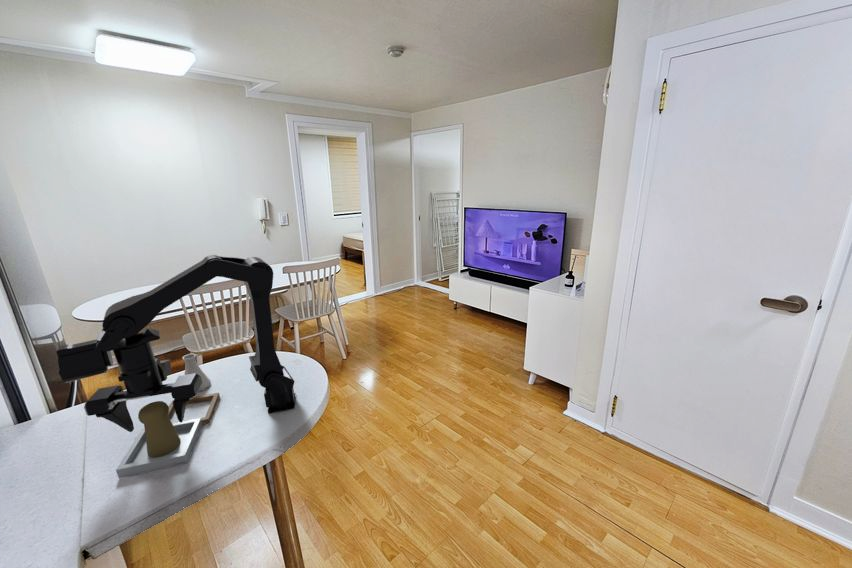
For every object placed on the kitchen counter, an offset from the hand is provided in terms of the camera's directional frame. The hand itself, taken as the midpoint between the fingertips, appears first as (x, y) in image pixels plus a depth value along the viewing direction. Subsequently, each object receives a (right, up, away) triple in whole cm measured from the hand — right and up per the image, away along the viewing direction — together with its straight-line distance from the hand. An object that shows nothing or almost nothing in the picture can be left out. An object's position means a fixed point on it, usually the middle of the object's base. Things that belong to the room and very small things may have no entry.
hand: (157, 425), depth 75 cm
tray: (0, -6, +2) cm, 6 cm away
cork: (0, -6, +2) cm, 6 cm away
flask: (-8, +1, +24) cm, 25 cm away
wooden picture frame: (-2, -2, +13) cm, 13 cm away
